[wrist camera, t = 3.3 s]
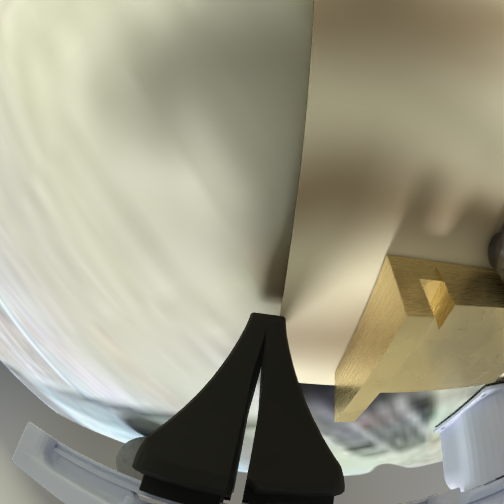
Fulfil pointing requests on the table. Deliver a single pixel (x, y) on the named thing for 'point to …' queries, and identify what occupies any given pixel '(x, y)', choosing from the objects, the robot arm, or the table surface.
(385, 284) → the loose leaf
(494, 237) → the fixed leaf
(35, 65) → the table surface
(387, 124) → the board
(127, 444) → the decorative ball
